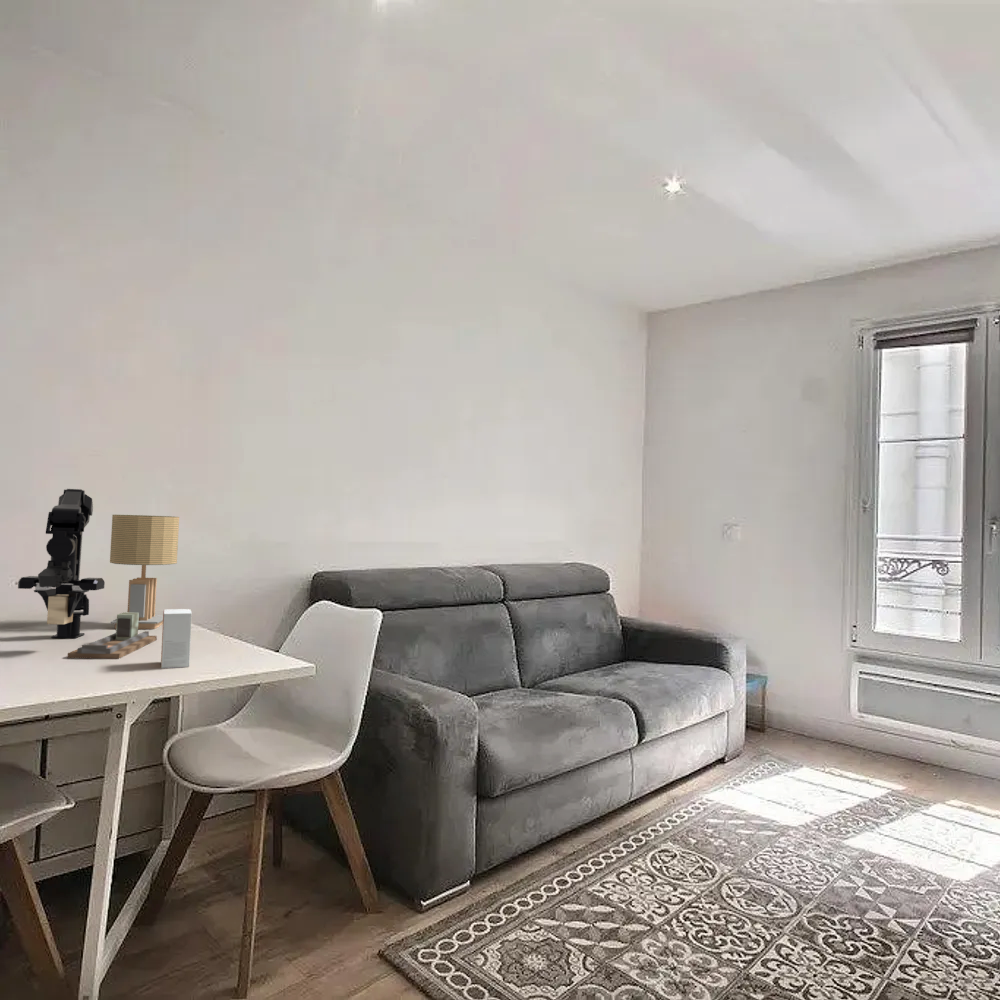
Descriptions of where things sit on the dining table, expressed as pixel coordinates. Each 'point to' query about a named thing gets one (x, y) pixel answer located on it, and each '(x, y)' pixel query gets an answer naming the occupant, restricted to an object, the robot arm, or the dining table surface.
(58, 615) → the tan wooden block
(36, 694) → the dining table surface
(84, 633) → the robot arm
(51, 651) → the dining table surface
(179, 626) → the small box
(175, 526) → the desk lamp
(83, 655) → the rail base
